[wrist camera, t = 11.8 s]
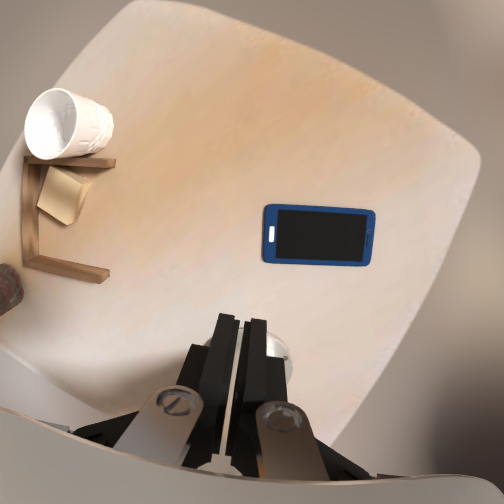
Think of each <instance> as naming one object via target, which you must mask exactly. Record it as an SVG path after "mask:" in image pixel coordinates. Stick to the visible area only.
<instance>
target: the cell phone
mask: <svg viewBox="0 0 504 504" xmlns="http://www.w3.org/2000/svg"><path fill="white" fill-rule="evenodd" d="M375 220H376V219H375V213H374V212H373V211H372V210H366V209H355V208H340V207H324V206H307V205H287V204H269V205H267V206H266V208H265V216H264V240H263V259H264V261H265V262H269V263H280V264H305V265H333V266H367V265H369V263H370V260H371V255H372V247H373V238H374V229H375Z"/></svg>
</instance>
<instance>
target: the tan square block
mask: <svg viewBox="0 0 504 504" xmlns="http://www.w3.org/2000/svg"><path fill="white" fill-rule="evenodd" d="M91 183H92V182H90V181H89V180H87V179H85V178H83V177H82V176H80V175H78V174H76V173H75V172H73V171H71V170H69V169H68V168H66V167H64V166H63V165H50V167H49V169H48V172H47V175H46V178H45V181H44V184H43V187H42V191H41V194H40V197H39V200H38V204H37V206H38V207H40V208H41V209H43V210H44V211H46V212H47V213H49V214H50V215H52V216H53V217H55V218H56V219H58V220H60V221H61V222H63V223H64V224H66V225H69V224H72V223H75V222H77V221H78V218H79V215H80V212H81V210H82V207H83V204H84V201H85V199H86V196H87V193H88V191H89V188H90V186H91Z"/></svg>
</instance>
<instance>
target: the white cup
mask: <svg viewBox="0 0 504 504" xmlns="http://www.w3.org/2000/svg"><path fill="white" fill-rule="evenodd" d="M113 128H114V124H113V119H112V115H111V113H110V112H109V111H108V110H107V108H106V107H104V106H101V105H98V104H97V103H95V102H94V101H92V100H90V99H87V98H85V97H83V96H80V95H77V94H75V93H72V92H70V91H67V90H64V89H61V88H53V89H50V90H47V91H45V92H44V93H42V94H41V95H40V96H39V97H38V98H37V99H36V100H35V101H34V103H33V104H32V106H31V107H30V109H29V111H28V114H27V117H26V121H25V128H24V133H25V140H26V144H27V146H28V148H29V150H30V151H31V153H32V154H33V155H34V156H36V157H37V158H40V159H43V160H49V159H57V158H65V157H73V156H80V155H84V154H89V153H97V152H98V151H100V150H101V149H103V148H104V147H105V146H106V145H107V143H108V142H109V140H110V139H111V137H112V132H113Z"/></svg>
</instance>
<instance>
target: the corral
mask: <svg viewBox="0 0 504 504" xmlns="http://www.w3.org/2000/svg"><path fill="white" fill-rule="evenodd" d="M115 162H116V159H102V158H85V157H65V158H57V159H49V160H43V159H40V158H37V157H36V156H24V164H23V180H22V245H23V262H24V266H26V267H30V268H34V269H38V270H42V271H46V272H50V273H54V274H58V275H62V276H67V277H71V278H75V279H79V280H84V281H88V282H93V283H97V284H101V283H102V282H103V281H104V280H106V279H107V278H108V277H109V270H108V269H103V268H98V267H93V266H88V265H83V264H78V263H74V262H69V261H64V260H60V259H55V258H50V257H46V256H41V255H39V233H38V206H37V204H38V200H39V180H40V165H41V164H52V165H70V166H86V167H99V168H110V167H115Z"/></svg>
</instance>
